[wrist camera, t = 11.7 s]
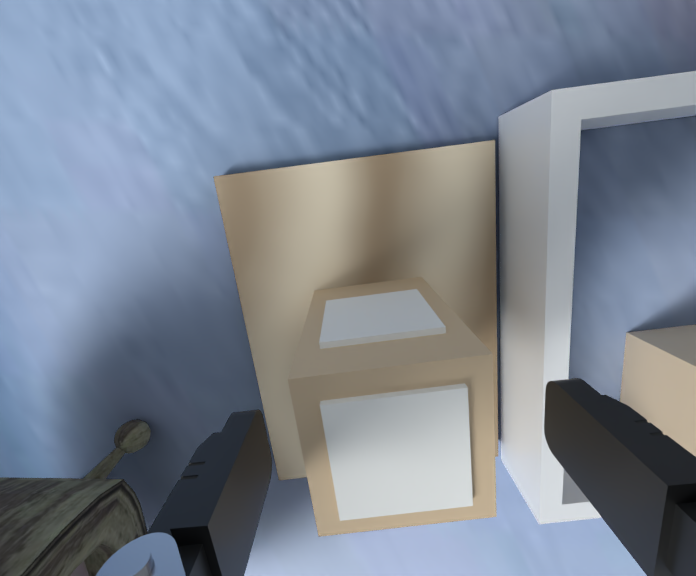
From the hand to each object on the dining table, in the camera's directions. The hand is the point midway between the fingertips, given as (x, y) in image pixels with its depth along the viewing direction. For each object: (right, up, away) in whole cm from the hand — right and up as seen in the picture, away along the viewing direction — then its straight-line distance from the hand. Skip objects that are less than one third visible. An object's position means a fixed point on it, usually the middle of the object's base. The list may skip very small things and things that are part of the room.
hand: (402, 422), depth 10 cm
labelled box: (0, +2, +7) cm, 7 cm away
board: (0, +2, +8) cm, 8 cm away
